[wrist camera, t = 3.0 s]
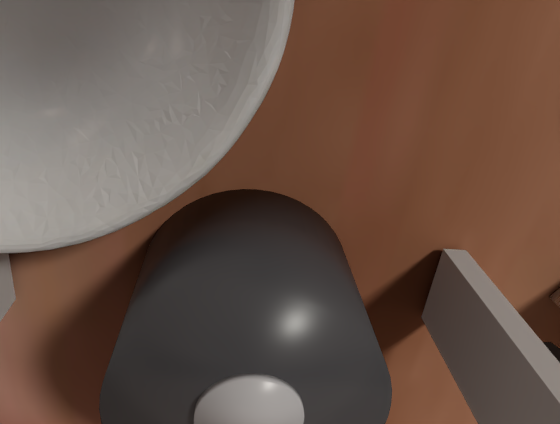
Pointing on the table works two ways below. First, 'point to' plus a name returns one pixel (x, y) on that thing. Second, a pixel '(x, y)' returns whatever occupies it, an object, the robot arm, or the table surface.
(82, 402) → the table surface
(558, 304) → the grey segmented ring
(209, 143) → the spoon rest
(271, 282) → the cap
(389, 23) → the table surface
